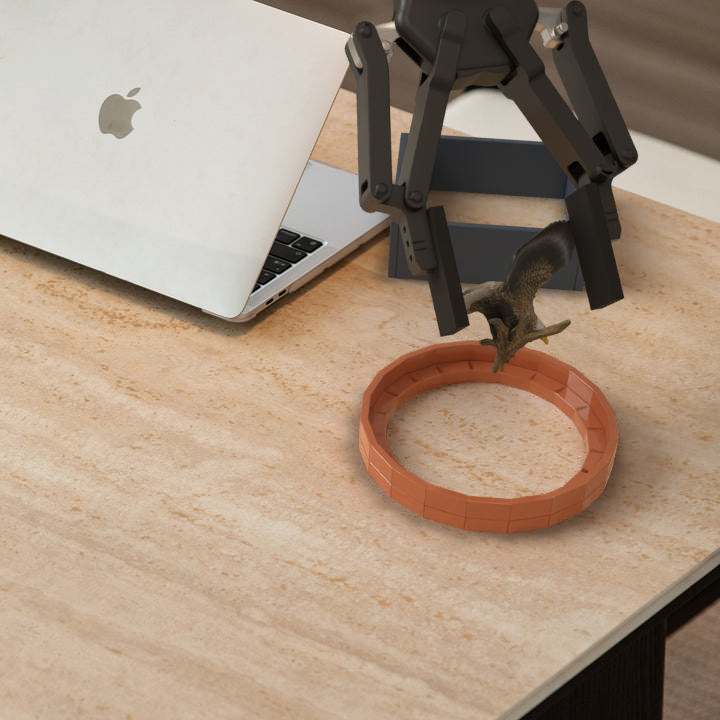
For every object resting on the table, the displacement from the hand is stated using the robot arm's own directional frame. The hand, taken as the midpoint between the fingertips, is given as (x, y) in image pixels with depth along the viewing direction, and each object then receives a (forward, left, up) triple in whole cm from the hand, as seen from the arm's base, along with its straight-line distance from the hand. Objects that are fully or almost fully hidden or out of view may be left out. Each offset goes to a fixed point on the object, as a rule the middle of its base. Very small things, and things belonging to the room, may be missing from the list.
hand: (532, 317), depth 67 cm
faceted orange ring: (+1, -3, -12) cm, 13 cm away
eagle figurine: (+1, -3, -4) cm, 5 cm away
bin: (+1, -28, -12) cm, 31 cm away
